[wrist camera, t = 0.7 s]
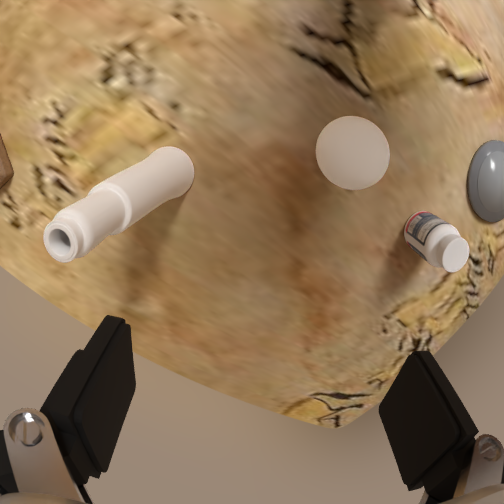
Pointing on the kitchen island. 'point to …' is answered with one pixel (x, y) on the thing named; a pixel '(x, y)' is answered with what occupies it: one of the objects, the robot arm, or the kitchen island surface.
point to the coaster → (487, 181)
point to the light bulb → (352, 152)
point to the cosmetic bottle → (118, 203)
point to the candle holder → (4, 165)
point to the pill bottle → (436, 241)
